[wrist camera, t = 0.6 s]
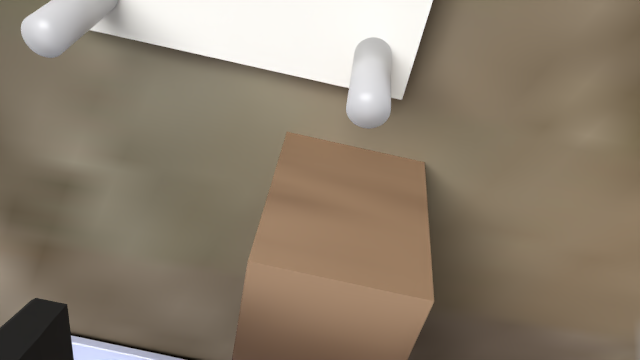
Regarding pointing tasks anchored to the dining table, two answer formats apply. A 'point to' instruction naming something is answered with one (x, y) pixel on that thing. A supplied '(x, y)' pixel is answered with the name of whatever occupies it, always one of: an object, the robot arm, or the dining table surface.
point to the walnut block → (338, 257)
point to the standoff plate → (262, 38)
